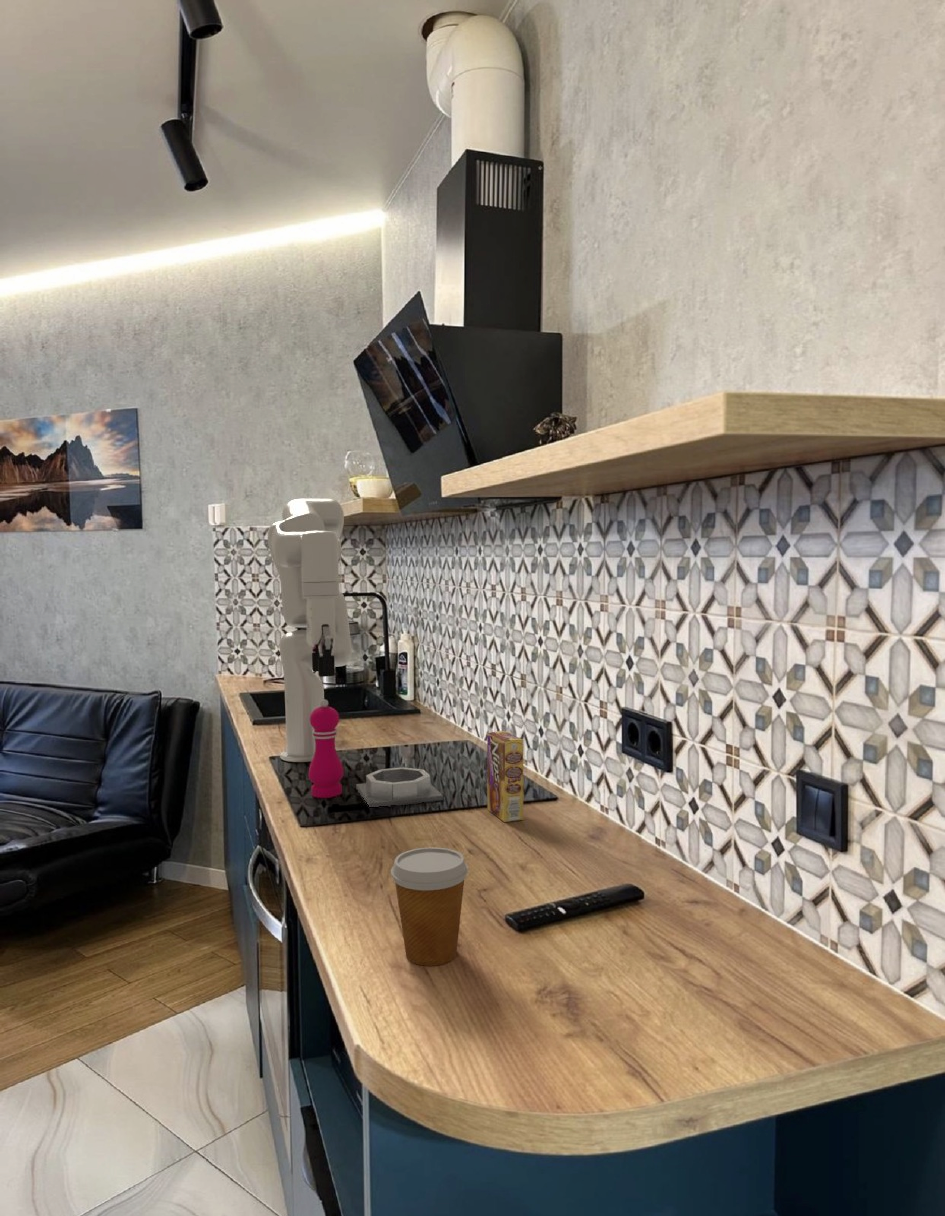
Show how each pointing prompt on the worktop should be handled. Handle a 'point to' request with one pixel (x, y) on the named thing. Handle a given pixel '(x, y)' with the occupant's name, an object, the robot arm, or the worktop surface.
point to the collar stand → (398, 787)
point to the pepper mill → (325, 753)
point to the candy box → (505, 775)
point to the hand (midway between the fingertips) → (323, 673)
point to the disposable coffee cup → (430, 902)
